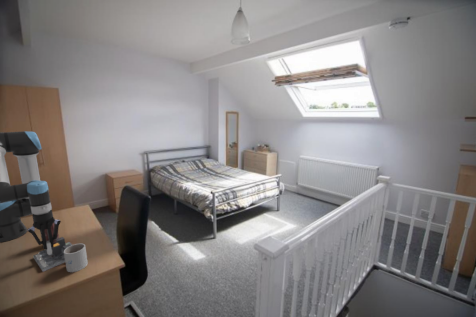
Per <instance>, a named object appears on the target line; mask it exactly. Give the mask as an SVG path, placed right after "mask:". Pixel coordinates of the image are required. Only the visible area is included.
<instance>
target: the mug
mask: <svg viewBox="0 0 476 317" xmlns="http://www.w3.org/2000/svg"><path fill="white" fill-rule="evenodd" d="M64 257H65V262H64V263H65V267H66V272H68V273H77V272H79V271H81V270H83V269H85V268H86V267H87V266H88V264H89V263H88V255H87V249H86V244H84V243H75V244H72V245H71V246H69V247H67V248H66V249H65V250H64Z"/></svg>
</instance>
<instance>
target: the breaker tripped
mask: <svg viewBox="0 0 476 317" xmlns="http://www.w3.org/2000/svg"><path fill="white" fill-rule="evenodd" d="M52 251H53V255H54V256H56V255H59V254H61V253H62V251H61V246H60V244H59V243H57V244H54V246H53V247H52Z"/></svg>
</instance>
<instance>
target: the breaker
mask: <svg viewBox="0 0 476 317" xmlns="http://www.w3.org/2000/svg"><path fill="white" fill-rule="evenodd" d="M56 242H57V243H59V244H60V246H61V248H63V246H65V243H66V239H65V237H63V236H61V237H59V238H58V239H56Z"/></svg>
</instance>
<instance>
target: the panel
mask: <svg viewBox="0 0 476 317" xmlns="http://www.w3.org/2000/svg"><path fill="white" fill-rule="evenodd" d="M68 244H70V245H73V244H72V242H70V241H68V242H65V245H68ZM51 249H52V247H51ZM61 251H62V253H61V254H59V255H56V256H54V255H53V251H52V254H51V255H48V254H47V249H46V250H45V249H44V250H41V251H39V252H38V253H36V254H34V255H33V256H32V257H33V259H34V261H35V262H36V264H37V266H38V267H39V269H40V270H41V272H42V273H44V272H45V271H46V272H47V271H48V270H51V269H53V268H55V267H56V266H60V265H62V264H64V263H65V257H64V251H63V248H61Z"/></svg>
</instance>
